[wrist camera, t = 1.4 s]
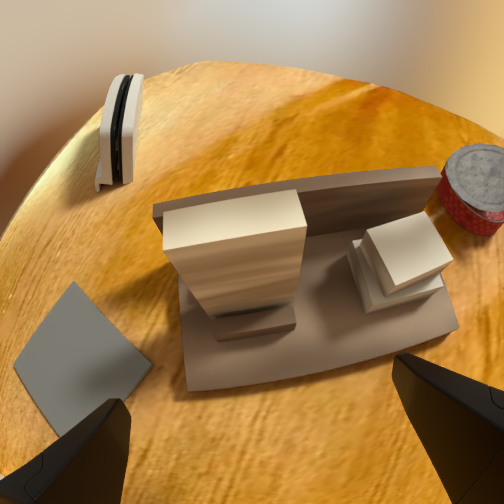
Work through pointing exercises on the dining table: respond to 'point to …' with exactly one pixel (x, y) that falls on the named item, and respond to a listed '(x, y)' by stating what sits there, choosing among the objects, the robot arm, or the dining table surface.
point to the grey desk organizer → (315, 288)
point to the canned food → (474, 188)
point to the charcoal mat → (78, 362)
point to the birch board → (238, 252)
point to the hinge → (120, 130)
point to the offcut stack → (398, 263)
